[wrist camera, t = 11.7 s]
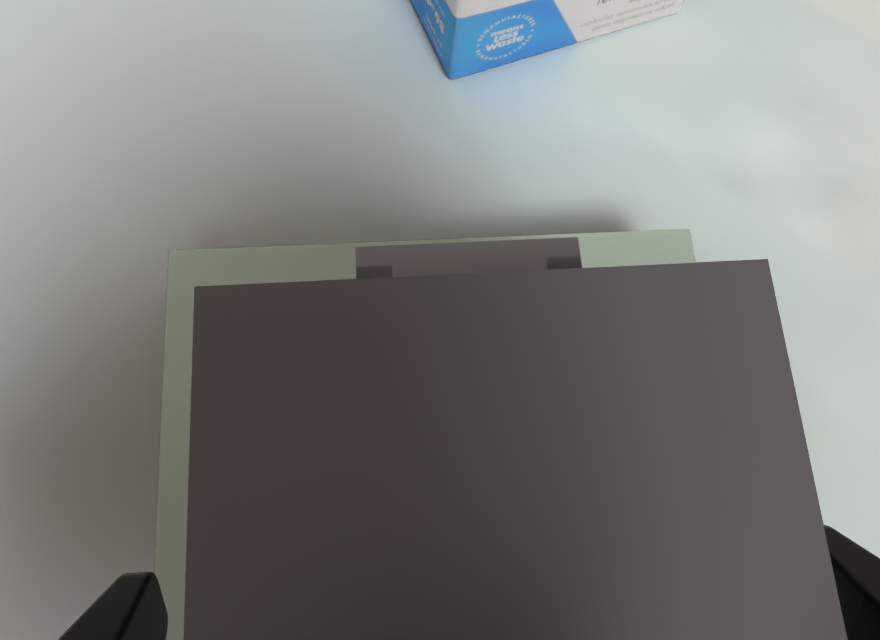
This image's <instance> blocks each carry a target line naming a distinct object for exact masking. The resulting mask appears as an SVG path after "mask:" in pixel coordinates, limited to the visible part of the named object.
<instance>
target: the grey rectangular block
mask: <svg viewBox="0 0 880 640" xmlns="http://www.w3.org/2000/svg"><path fill="white" fill-rule="evenodd" d="M355 252H356V279H341V280H320V281H299V282H278V283H257V284H236V285H215V286H194V312H193V345H192V378H191V410H190V443H189V475H188V508H187V541H186V573H185V606H184V639H183V640H848V639H847V635H846V630H845V625H844V620H843V616H842V611H841V606H840V601H839V597H838V592H837V587H836V582H835V577H834V573H833V568H832V563H831V558H830V554H829V549H828V544H827V539H826V535H825V530H824V525H823V520H822V516H821V511H820V506H819V501H818V497H817V492H816V487H815V482H814V477H813V473H812V468H811V463H810V458H809V454H808V449H807V444H806V439H805V435H804V430H803V425H802V420H801V416H800V411H799V406H798V401H797V397H796V392H795V387H794V382H793V377H792V373H791V368H790V363H789V358H788V354H787V349H786V344H785V339H784V335H783V330H782V325H781V320H780V316H779V311H778V306H777V301H776V296H775V292H774V287H773V282H772V277H771V273H770V268H769V263H768V259H762V260H741V261H720V262H699V263H678V264H657V265H636V266H615V267H594V268H582V263H581V255H580V248H579V240H578V237H567V238H545V239H522V240H500V241H477V242H455V243H432V244H410V245H388V246H365V247H355Z"/></svg>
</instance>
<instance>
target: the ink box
mask: <svg viewBox="0 0 880 640" xmlns="http://www.w3.org/2000/svg"><path fill="white" fill-rule="evenodd" d="M411 1H412V3H413V5H414V7H415V9H416V12H417V14H418V16H419V18H420V20H421V22H422V24H423V26H424V28H425V30H426V32H427V34H428V36H429V38H430V40H431V42H432V44H433V46H434V49H435V51H436V53H437V55H438V57H439V59H440V61H441V63H442V65H443V67H444V69H445V72H446V74H447V76H448V77H449V78H450V79H457V78H460V77H463V76H467V75H470V74H474V73H477V72H481V71H484V70H487V69H490V68H494V67H498V66H501V65H504V64H507V63H511V62H514V61H517V60H520V59H523V58H527V57H530V56H534V55H538V54H541V53H544V52H547V51H551V50H554V49H558V48H561V47H564V46H568V45H571V44H574V43H577V42H581V41H584V40H588V39H591V38H594V37H597V36H601V35H604V34H608V33H611V32H614V31H618V30H621V29H624V28H627V27H631V26H634V25H637V24H640V23H644V22H647V21H651V20H654V19H658V18H661V17H664V16H668V15H672V14H675V13H676V12H678V11H679V9H680V8H681V6H682V4H683V2H684V0H411Z"/></svg>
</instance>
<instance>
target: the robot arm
mask: <svg viewBox="0 0 880 640" xmlns="http://www.w3.org/2000/svg"><path fill="white" fill-rule="evenodd" d="M824 530H825V535H826V539H827V544H828V549H829V554H830V558H831V563H832V568H833V573H834V577H835V582H836V587H837V592H838V597H839V601H840V606H841V611H842V616H843V620H844V625H845V630H846V635H847V639H848V640H880V558H878V557H877V556H875V555H873V554H872V553H870V552H869V551H867V550H866V549H864V548H863V547H861V546H859V545H858V544H856V543H855V542H853V541H852V540H850V539H849V538H847V537H845V536H844V535H842V534H841V533H839V532H838V531H836V530H835V529H833V528H831V527H829V526H827V525H824ZM167 629H168V613H167V609H166V606H165V602H164V599H163V595H162V592H161V589H160V585H159V582H158V579H157V577H156V575H155V574H154V573H153V572H138V573H126V574H123V575H122V576H120V577H119V578H118V579H117V580H116V581H115V582H114V583H113V584H112V585H111V586H110V587H109V588H108V589H107V590H106V591H105V592H104V593H103V594H102V595H101V596H100V597H99V598H98V599H97V600H96V601H95V602H94V603H93V604H92V605H91V606H90V607H89V608H88V609H87V610H86V611H85V612H84V613H83V615H82V616H81V617H80V618H79V619H78V620H77V621H76V622H75V623H74V624H73V625H72V626H71V627H70V628H69V629H68V630H67V631H66V632H65V633H64V634H63V635H62V636H61V637H60V638H59V639H58V640H166V635H167Z"/></svg>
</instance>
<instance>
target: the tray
mask: <svg viewBox="0 0 880 640" xmlns="http://www.w3.org/2000/svg"><path fill="white" fill-rule="evenodd" d="M567 237H578V240H579V248H580V255H581V263H582V268H594V267H615V266H636V265H657V264H678V263H696V262H695V257H694V251H693V245H692V240H691V234H690V229H672V230H648V231H624V232H600V233H575V234H551V235H527V236H503V237H479V238H454V239H430V240H406V241H382V242H357V243H333V244H309V245H285V246H261V247H236V248H212V249H188V250H169V252H168V274H167V296H166V318H165V341H164V363H163V385H162V407H161V429H160V451H159V473H158V495H157V517H156V539H155V561H154V574H155V575H156V577H157V579H158V582H159V585H160V589H161V592H162V595H163V599H164V602H165V606H166V609H167V613H168V629H167V635H166V640H183V639H184V606H185V573H186V541H187V508H188V475H189V443H190V410H191V378H192V345H193V312H194V286H215V285H236V284H257V283H278V282H299V281H320V280H341V279H356V252H355V247H365V246H388V245H410V244H432V243H455V242H477V241H500V240H522V239H545V238H567Z"/></svg>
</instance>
